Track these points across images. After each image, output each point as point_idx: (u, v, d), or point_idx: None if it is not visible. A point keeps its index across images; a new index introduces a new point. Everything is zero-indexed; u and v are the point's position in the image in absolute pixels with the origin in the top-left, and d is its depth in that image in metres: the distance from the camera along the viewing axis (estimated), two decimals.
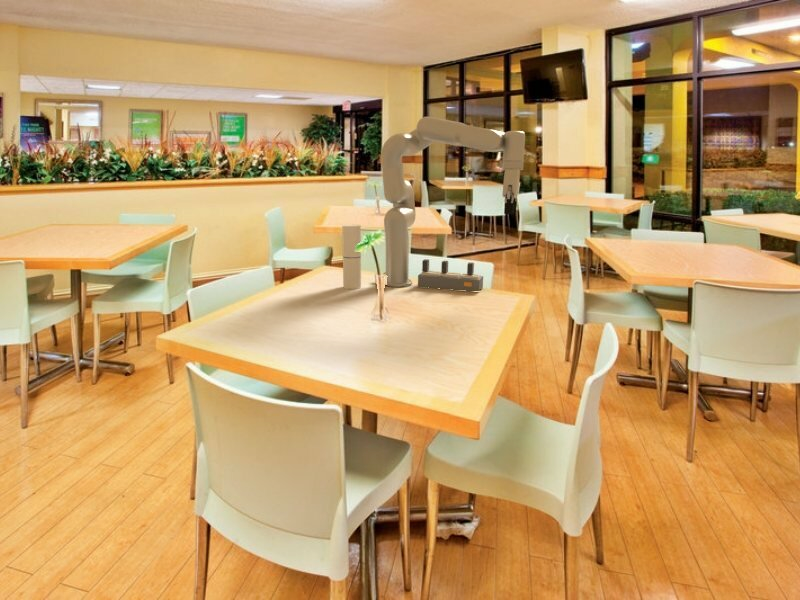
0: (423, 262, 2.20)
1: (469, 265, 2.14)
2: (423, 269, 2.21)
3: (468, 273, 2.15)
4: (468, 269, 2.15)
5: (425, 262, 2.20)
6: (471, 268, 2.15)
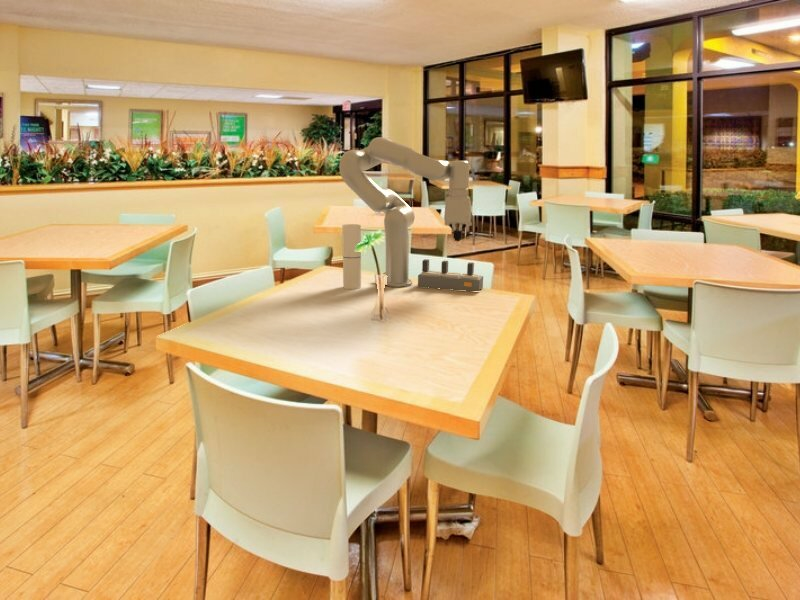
0: (423, 262, 2.20)
1: (469, 265, 2.14)
2: (423, 269, 2.21)
3: (468, 273, 2.15)
4: (468, 269, 2.15)
5: (425, 262, 2.20)
6: (471, 268, 2.15)
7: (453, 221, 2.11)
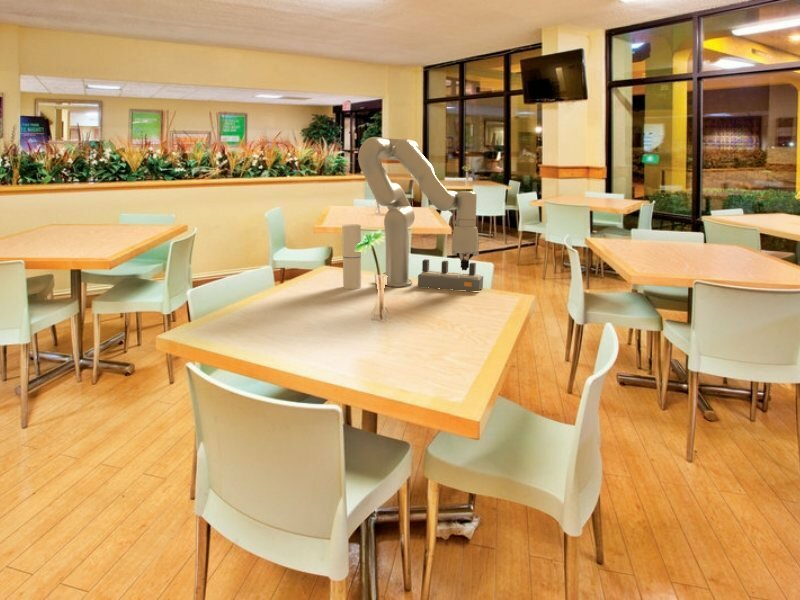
0: (423, 262, 2.20)
1: (471, 265, 2.14)
2: (423, 269, 2.21)
3: (470, 273, 2.15)
4: (470, 269, 2.15)
5: (425, 262, 2.20)
6: (473, 268, 2.14)
7: (460, 251, 2.13)
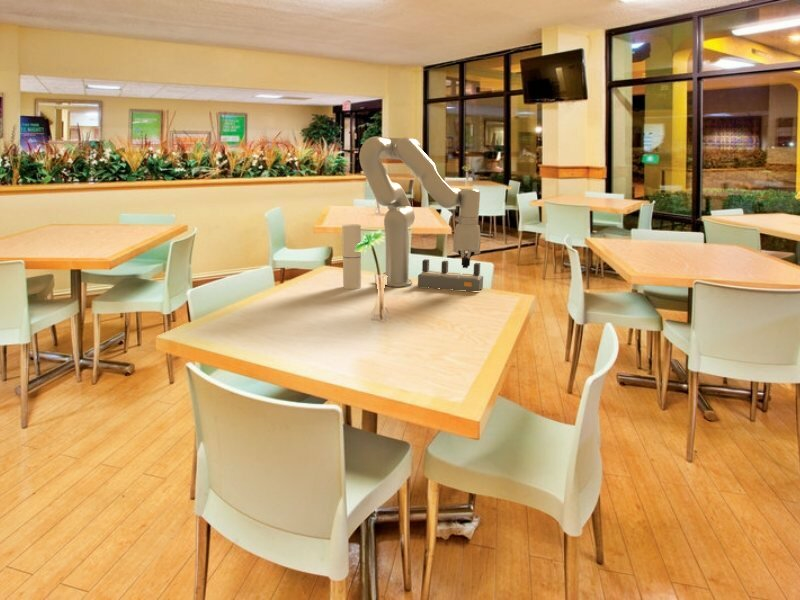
0: (423, 262, 2.20)
1: (475, 265, 2.14)
2: (423, 269, 2.21)
3: (474, 273, 2.15)
4: (474, 269, 2.14)
5: (425, 262, 2.20)
6: (477, 268, 2.14)
7: (462, 248, 2.12)
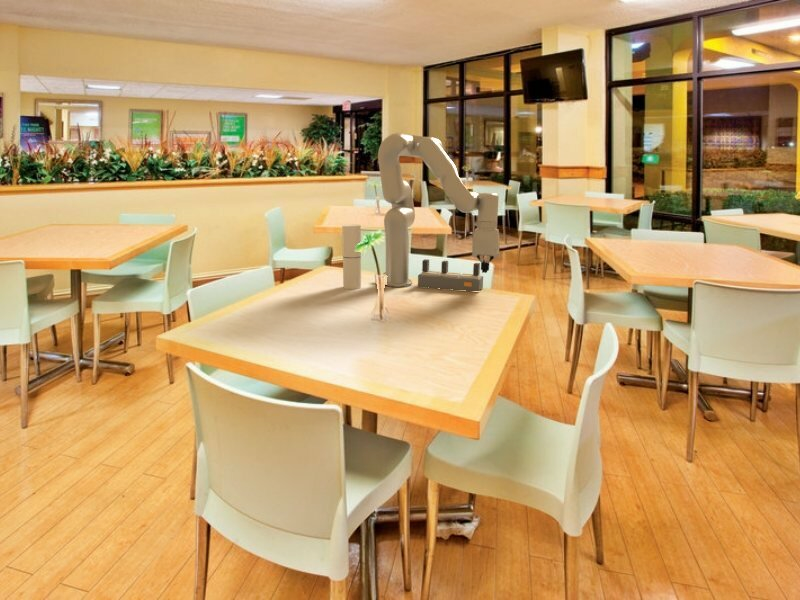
0: (423, 262, 2.20)
1: (475, 265, 2.14)
2: (423, 269, 2.21)
3: (474, 273, 2.15)
4: (474, 269, 2.14)
5: (425, 262, 2.20)
6: (477, 268, 2.14)
7: (481, 253, 2.10)
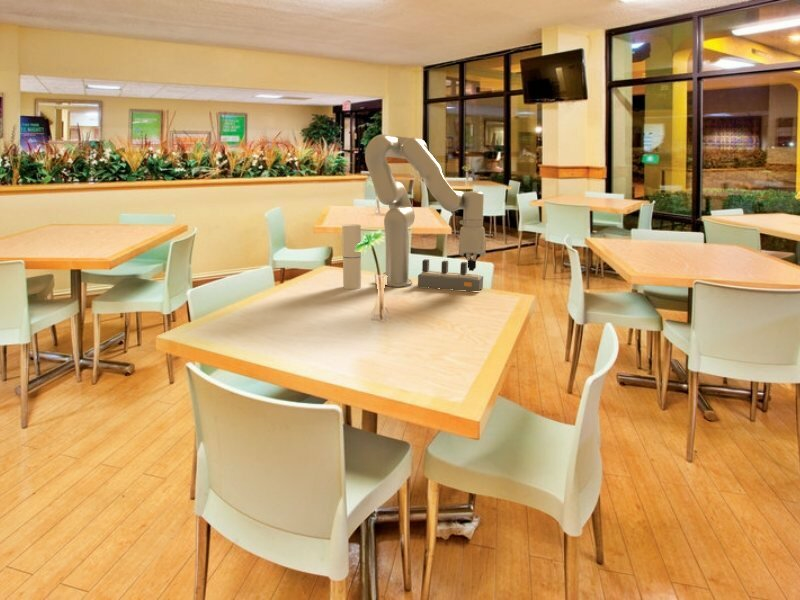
0: (423, 262, 2.20)
1: (462, 265, 2.15)
2: (423, 269, 2.21)
3: (461, 272, 2.16)
4: (461, 268, 2.16)
5: (425, 262, 2.20)
6: (464, 267, 2.15)
7: (467, 251, 2.12)
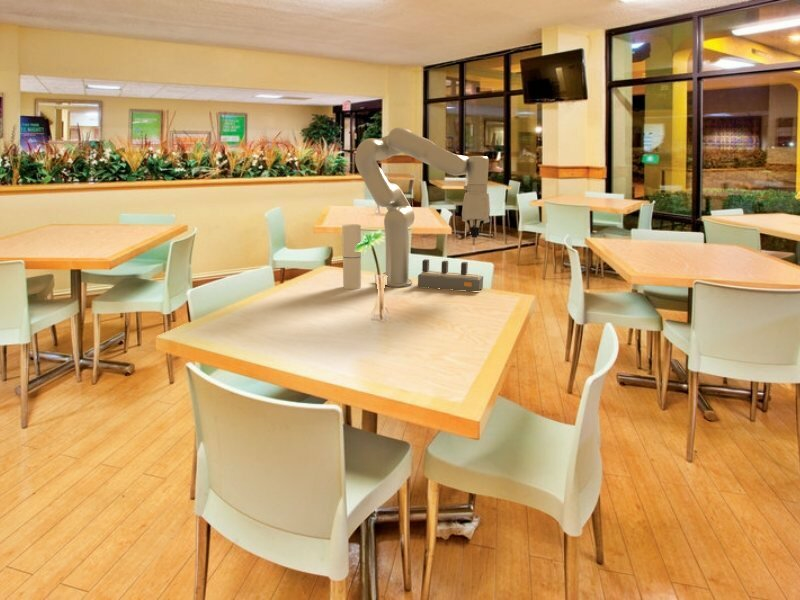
0: (423, 262, 2.20)
1: (463, 265, 2.15)
2: (423, 269, 2.21)
3: (462, 273, 2.16)
4: (462, 269, 2.16)
5: (425, 262, 2.20)
6: (465, 268, 2.15)
7: (471, 217, 2.09)
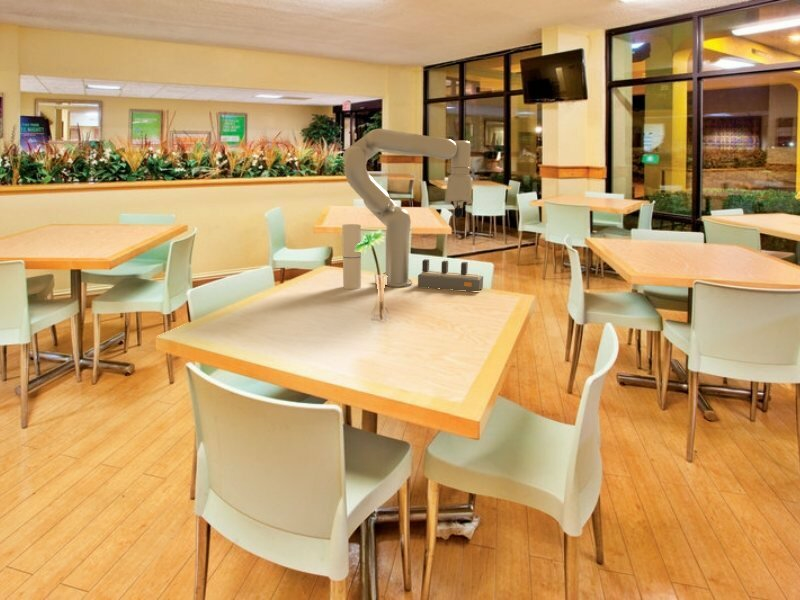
0: (423, 262, 2.20)
1: (463, 265, 2.15)
2: (423, 269, 2.21)
3: (462, 273, 2.16)
4: (462, 269, 2.16)
5: (425, 262, 2.20)
6: (465, 268, 2.15)
7: (454, 198, 2.22)
